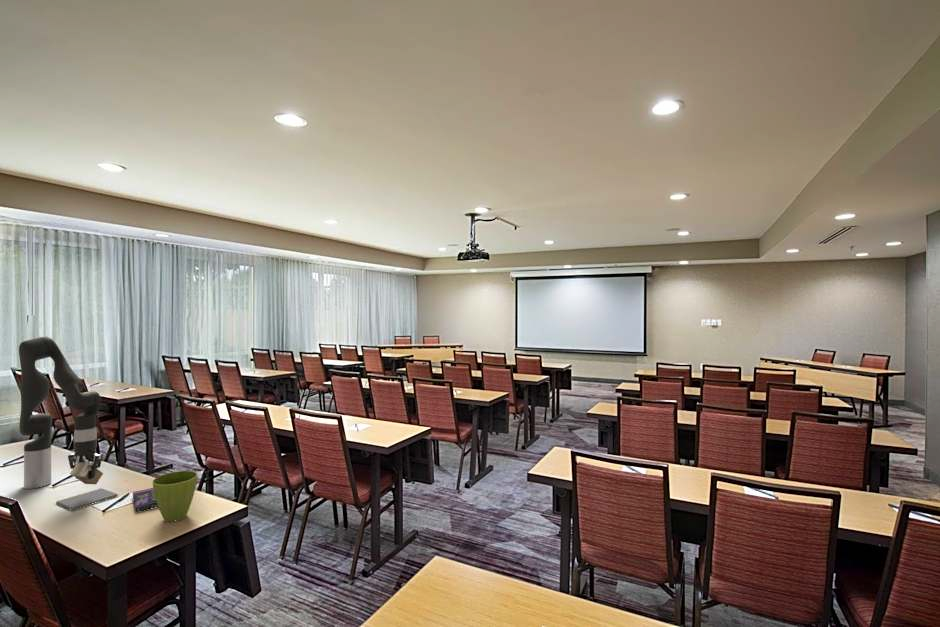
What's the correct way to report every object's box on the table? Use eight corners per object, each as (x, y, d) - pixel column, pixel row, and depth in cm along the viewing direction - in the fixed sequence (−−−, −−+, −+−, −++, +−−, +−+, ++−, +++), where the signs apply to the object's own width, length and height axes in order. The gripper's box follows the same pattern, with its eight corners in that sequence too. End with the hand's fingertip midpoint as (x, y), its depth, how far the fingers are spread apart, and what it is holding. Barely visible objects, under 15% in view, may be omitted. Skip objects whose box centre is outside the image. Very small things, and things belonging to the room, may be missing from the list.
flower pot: (201, 518, 176) (201, 478, 176) (155, 530, 166) (155, 487, 166) (193, 506, 187) (193, 468, 187) (150, 517, 177) (150, 476, 177)
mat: (56, 503, 189) (56, 501, 189) (101, 490, 204) (101, 488, 204) (72, 510, 183) (72, 508, 183) (117, 496, 197) (117, 494, 197)
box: (132, 499, 196) (135, 514, 181) (132, 491, 196) (134, 505, 181) (171, 491, 205) (176, 504, 190) (170, 483, 205) (176, 496, 190)
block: (85, 484, 194) (69, 473, 187) (92, 473, 198) (77, 462, 191) (96, 484, 194) (80, 473, 187) (103, 473, 198) (88, 462, 191)
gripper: (61, 440, 188) (61, 481, 188) (93, 441, 187) (93, 482, 187) (77, 436, 196) (77, 474, 196) (108, 436, 195) (108, 475, 195)
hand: (85, 478), depth 192 cm, fingers closed on block, 5 cm apart
